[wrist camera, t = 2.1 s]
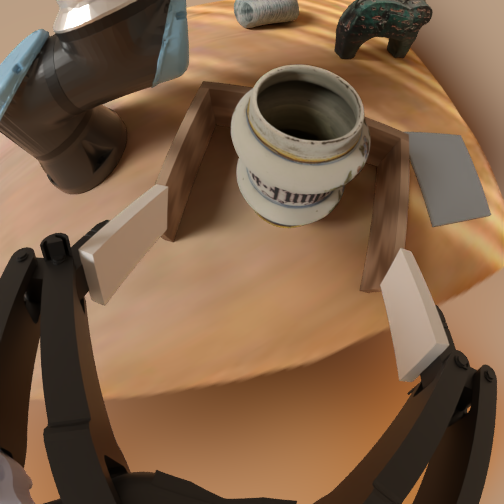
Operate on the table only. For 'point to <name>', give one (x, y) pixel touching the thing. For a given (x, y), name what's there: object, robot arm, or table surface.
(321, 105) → the apothecary jar
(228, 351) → the table surface
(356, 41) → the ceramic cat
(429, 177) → the rubber mat
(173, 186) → the walnut u-shaped frame
